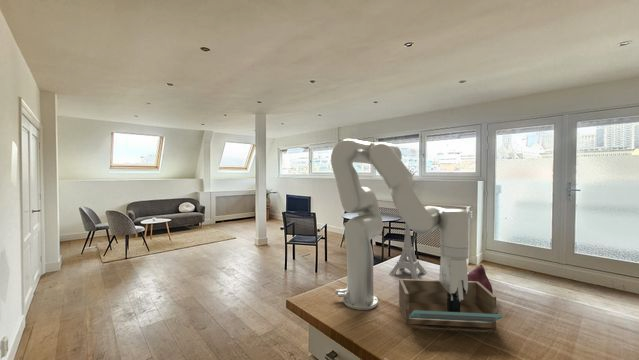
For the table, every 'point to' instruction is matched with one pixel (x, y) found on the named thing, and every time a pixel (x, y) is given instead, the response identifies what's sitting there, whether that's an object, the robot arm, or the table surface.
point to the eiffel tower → (409, 262)
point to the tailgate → (455, 316)
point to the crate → (444, 302)
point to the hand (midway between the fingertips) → (453, 312)
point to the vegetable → (480, 277)
